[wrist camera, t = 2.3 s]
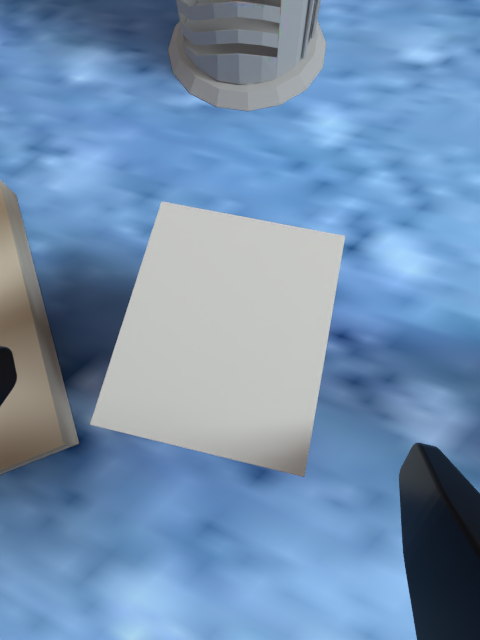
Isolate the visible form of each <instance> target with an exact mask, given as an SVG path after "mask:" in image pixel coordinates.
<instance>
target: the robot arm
mask: <svg viewBox="0 0 480 640" xmlns="http://www.w3.org/2000/svg"><path fill="white" fill-rule="evenodd" d="M16 381H17V372H16V367H15V362H14V357H13V353H12V351H11V350H10V349H9V348H8V347H4V346H0V407H1V405H2V404H3V402H4V401H5V399H6V398H7V396H8V395H9V394H10V392H11V391H12V389H13V388H14V386H15V384H16ZM399 488H400V507H401V525H402V543H403V554H404V562H405V569H406V575H407V581H408V587H409V593H410V599H411V605H412V611H413V617H414V624H415V630H416V636H417V640H480V493H479V492H478V491H477V490H476V489H475V488H474V487H473V486H472V485H471V483H470V482H469V481H468V480H467V479H466V478H465V477H464V476H463V475H462V474H461V472H460V471H459V470H458V469H457V468H456V467H455V466H454V465H453V464H452V463H451V462H450V460H449V459H448V458H447V457H446V456H445V455H444V454H443V453H442V452H441V451H440V450H439V449H438V448H437V447H435V446H431V445H427V444H423V443H415V444H414V445H413V446H412V448H411V450H410V452H409V454H408V456H407V457H406V459H405V461H404V463H403V465H402V467H401V469H400V474H399Z"/></svg>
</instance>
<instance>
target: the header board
mask: <svg viewBox="0 0 480 640" xmlns="http://www.w3.org/2000/svg"><path fill="white" fill-rule="evenodd" d="M0 346H4V347H8V348H9V349H10V350H11V351H12V353H13V357H14V362H15V367H16V372H17V381H16V384H15V386H14V388H13V389H12V391H11V392H10V394H9V395H8V396H7V398H6V399H5V401H4V402H3V404H2V405H1V407H0V475H1V474H3V473H6V472H8V471H11V470H13V469H16V468H19V467H21V466H24V465H26V464H29V463H31V462H34V461H36V460H39V459H41V458H44V457H47V456H49V455H52V454H54V453H57V452H59V451H62V450H64V449H67V448H69V447H72V446H75V445H77V444H79V440H78V436H77V432H76V429H75V425H74V421H73V417H72V413H71V409H70V405H69V401H68V397H67V393H66V389H65V385H64V381H63V377H62V374H61V370H60V366H59V362H58V358H57V354H56V350H55V346H54V342H53V338H52V334H51V330H50V326H49V322H48V318H47V315H46V311H45V307H44V303H43V299H42V295H41V291H40V287H39V283H38V279H37V275H36V271H35V267H34V263H33V259H32V256H31V252H30V248H29V244H28V240H27V236H26V232H25V228H24V224H23V220H22V216H21V212H20V208H19V204H18V200H17V197H16V195H15V194H14V193H13V192H12V191H11V190H10V189H9V188H8V187H7V186H6V185H5V184H4V183H3V182H2V181H1V180H0Z"/></svg>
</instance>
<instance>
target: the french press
mask: <svg viewBox="0 0 480 640" xmlns="http://www.w3.org/2000/svg"><path fill="white" fill-rule="evenodd" d="M320 1H321V0H176V3H177V9H178V14H179V20H180V21H179V22H178V24H177V25H176V26H175V28H174V31H173V35H172V38H171V41H170V44H169V48H168V52H169V57H170V62H171V67H172V71H173V74H174V75H175V76H176V77H177V79H178V80H179V81H180V82H181V83H182V85H183V86H184V87H185V88H186V89H187V91H188V92H189V93H190V94H192V95H194V96H196V97H198V98H200V99H202V100H204V101H206V102H208V103H210V104H212V105H214V106H216V107H221V108H229V109H237V110H244V111H251V110H256V109H261V108H267V107H272V106H277V105H281V104H283V103H284V102H286V101H288V100H289V99H291V98H293V97H295V96H296V95H298V94H300V93H301V92H303V91H305V90H306V89H307V88H308V87H309V85H310V84H311V83H312V81H313V80H314V79H315V77H316V76H317V75H318V73H319V72H320V71H321V69H322V68H323V62H324V56H325V49H326V42H325V39H324V36H323V33H322V31H321V28H320V25H319V22H318V21H317V19H318V13H319V7H320Z"/></svg>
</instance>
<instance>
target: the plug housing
mask: <svg viewBox="0 0 480 640" xmlns="http://www.w3.org/2000/svg"><path fill="white" fill-rule="evenodd" d="M344 240H345V236H342V235H337V234H332V233H327V232H321V231H316V230H311V229H305V228H300V227H295V226H289V225H284V224H279V223H273V222H268V221H263V220H257V219H252V218H247V217H242V216H236V215H231V214H226V213H220V212H215V211H210V210H204V209H199V208H194V207H188V206H183V205H178V204H172V203H167V202H161V205H160V208H159V211H158V214H157V217H156V221H155V224H154V227H153V230H152V233H151V236H150V239H149V242H148V245H147V249H146V252H145V255H144V258H143V261H142V264H141V267H140V270H139V273H138V277H137V280H136V283H135V286H134V289H133V292H132V295H131V298H130V301H129V305H128V308H127V311H126V314H125V317H124V320H123V323H122V326H121V329H120V332H119V336H118V339H117V342H116V345H115V348H114V351H113V354H112V357H111V360H110V364H109V367H108V370H107V373H106V376H105V379H104V382H103V385H102V388H101V392H100V395H99V398H98V401H97V404H96V407H95V410H94V413H93V416H92V420H91V423H90V425H94V426H98V427H102V428H106V429H110V430H114V431H118V432H122V433H126V434H130V435H134V436H139V437H143V438H147V439H151V440H155V441H159V442H163V443H167V444H171V445H175V446H180V447H184V448H188V449H192V450H196V451H200V452H204V453H208V454H212V455H216V456H220V457H225V458H229V459H233V460H237V461H241V462H245V463H249V464H253V465H257V466H261V467H266V468H270V469H274V470H278V471H282V472H286V473H290V474H294V475H298V476H302V477H304V476H305V470H306V464H307V458H308V452H309V447H310V441H311V435H312V429H313V423H314V417H315V411H316V405H317V399H318V393H319V387H320V382H321V376H322V370H323V364H324V358H325V352H326V346H327V340H328V334H329V328H330V323H331V317H332V311H333V305H334V299H335V293H336V287H337V281H338V275H339V269H340V264H341V258H342V252H343V246H344Z"/></svg>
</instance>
